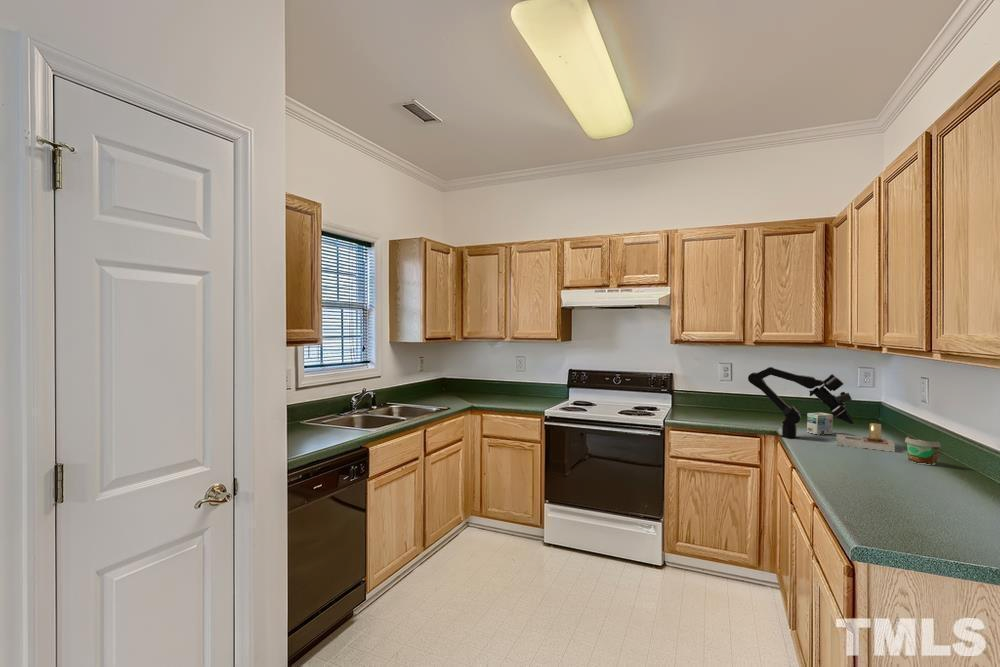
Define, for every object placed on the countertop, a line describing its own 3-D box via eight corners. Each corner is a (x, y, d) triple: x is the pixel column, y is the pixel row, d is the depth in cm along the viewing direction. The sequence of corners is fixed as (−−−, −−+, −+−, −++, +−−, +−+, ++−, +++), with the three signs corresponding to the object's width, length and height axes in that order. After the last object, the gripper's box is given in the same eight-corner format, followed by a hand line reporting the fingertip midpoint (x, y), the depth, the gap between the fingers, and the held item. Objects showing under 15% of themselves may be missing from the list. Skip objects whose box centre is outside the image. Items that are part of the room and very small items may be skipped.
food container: (897, 459, 214) (898, 436, 214) (906, 458, 217) (907, 435, 217) (930, 467, 203) (931, 443, 203) (940, 466, 205) (940, 442, 205)
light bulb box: (817, 435, 262) (817, 415, 262) (806, 432, 268) (806, 412, 268) (833, 434, 265) (833, 414, 264) (821, 431, 271) (822, 412, 271)
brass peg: (877, 448, 234) (877, 425, 234) (867, 446, 238) (867, 423, 238) (882, 447, 236) (883, 424, 236) (872, 445, 240) (873, 422, 240)
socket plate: (836, 445, 240) (836, 438, 240) (836, 439, 252) (836, 433, 252) (894, 452, 228) (894, 444, 228) (891, 446, 240) (891, 439, 239)
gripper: (840, 388, 237) (868, 414, 231) (839, 385, 252) (866, 409, 247) (820, 403, 241) (847, 429, 236) (820, 399, 257) (846, 423, 251)
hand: (852, 422), depth 242 cm, fingers open, 9 cm apart
